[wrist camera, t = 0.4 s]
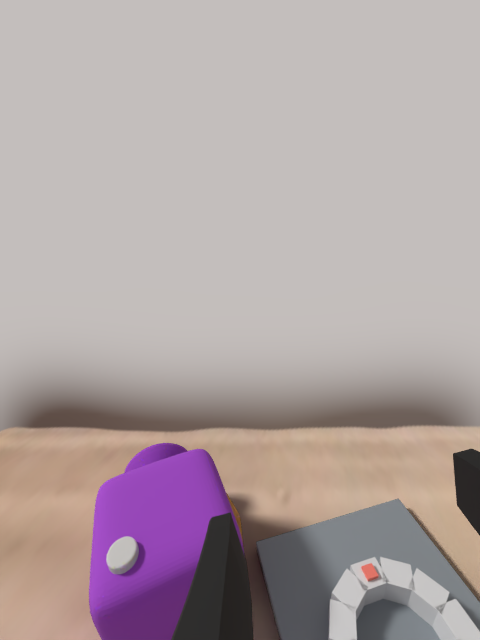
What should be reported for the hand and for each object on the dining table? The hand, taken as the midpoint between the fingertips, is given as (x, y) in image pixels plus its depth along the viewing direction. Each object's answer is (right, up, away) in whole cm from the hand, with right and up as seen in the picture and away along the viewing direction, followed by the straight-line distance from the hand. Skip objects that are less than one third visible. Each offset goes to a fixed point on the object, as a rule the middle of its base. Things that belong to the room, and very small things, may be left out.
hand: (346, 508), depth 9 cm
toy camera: (-9, -15, +16) cm, 24 cm away
